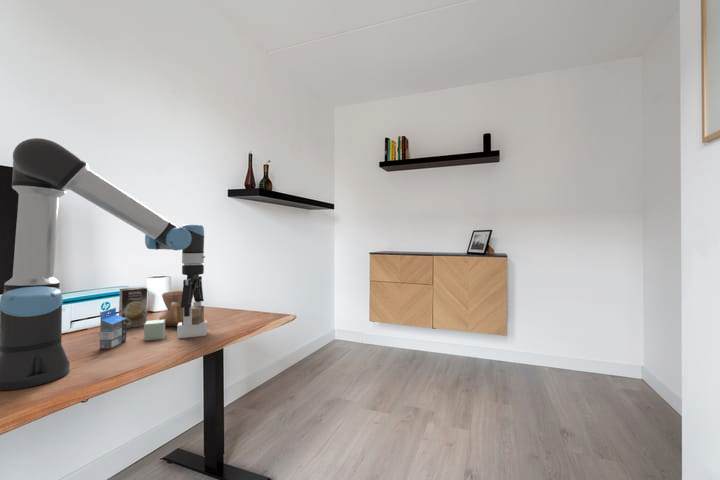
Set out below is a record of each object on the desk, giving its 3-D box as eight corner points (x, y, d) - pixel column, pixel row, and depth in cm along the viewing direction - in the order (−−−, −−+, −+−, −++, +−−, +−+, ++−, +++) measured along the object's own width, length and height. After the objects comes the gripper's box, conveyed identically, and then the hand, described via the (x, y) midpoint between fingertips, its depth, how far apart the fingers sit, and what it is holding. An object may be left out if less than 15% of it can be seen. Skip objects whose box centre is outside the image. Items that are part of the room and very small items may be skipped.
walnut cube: (198, 324, 126) (199, 308, 126) (181, 324, 125) (182, 309, 125) (203, 320, 132) (203, 305, 132) (187, 321, 131) (187, 306, 131)
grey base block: (206, 336, 128) (206, 323, 128) (177, 338, 124) (177, 325, 124) (206, 332, 133) (207, 320, 133) (178, 335, 129) (178, 322, 129)
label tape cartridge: (111, 349, 111) (112, 312, 112) (99, 349, 111) (99, 312, 111) (126, 341, 120) (127, 307, 120) (115, 341, 120) (115, 307, 120)
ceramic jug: (166, 320, 152) (165, 289, 152) (200, 318, 156) (200, 288, 155) (152, 331, 135) (151, 296, 134) (191, 329, 138) (190, 295, 138)
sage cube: (163, 338, 124) (163, 322, 124) (144, 340, 121) (144, 324, 121) (165, 334, 129) (165, 319, 129) (146, 336, 127) (147, 320, 127)
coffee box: (121, 329, 137) (121, 290, 137) (118, 326, 141) (118, 288, 141) (147, 325, 143) (147, 288, 143) (143, 322, 148) (143, 286, 148)
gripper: (193, 266, 118) (193, 328, 117) (211, 262, 140) (211, 314, 140) (170, 266, 116) (170, 329, 116) (192, 262, 139) (192, 315, 139)
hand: (192, 321), depth 128 cm, fingers open, 10 cm apart
